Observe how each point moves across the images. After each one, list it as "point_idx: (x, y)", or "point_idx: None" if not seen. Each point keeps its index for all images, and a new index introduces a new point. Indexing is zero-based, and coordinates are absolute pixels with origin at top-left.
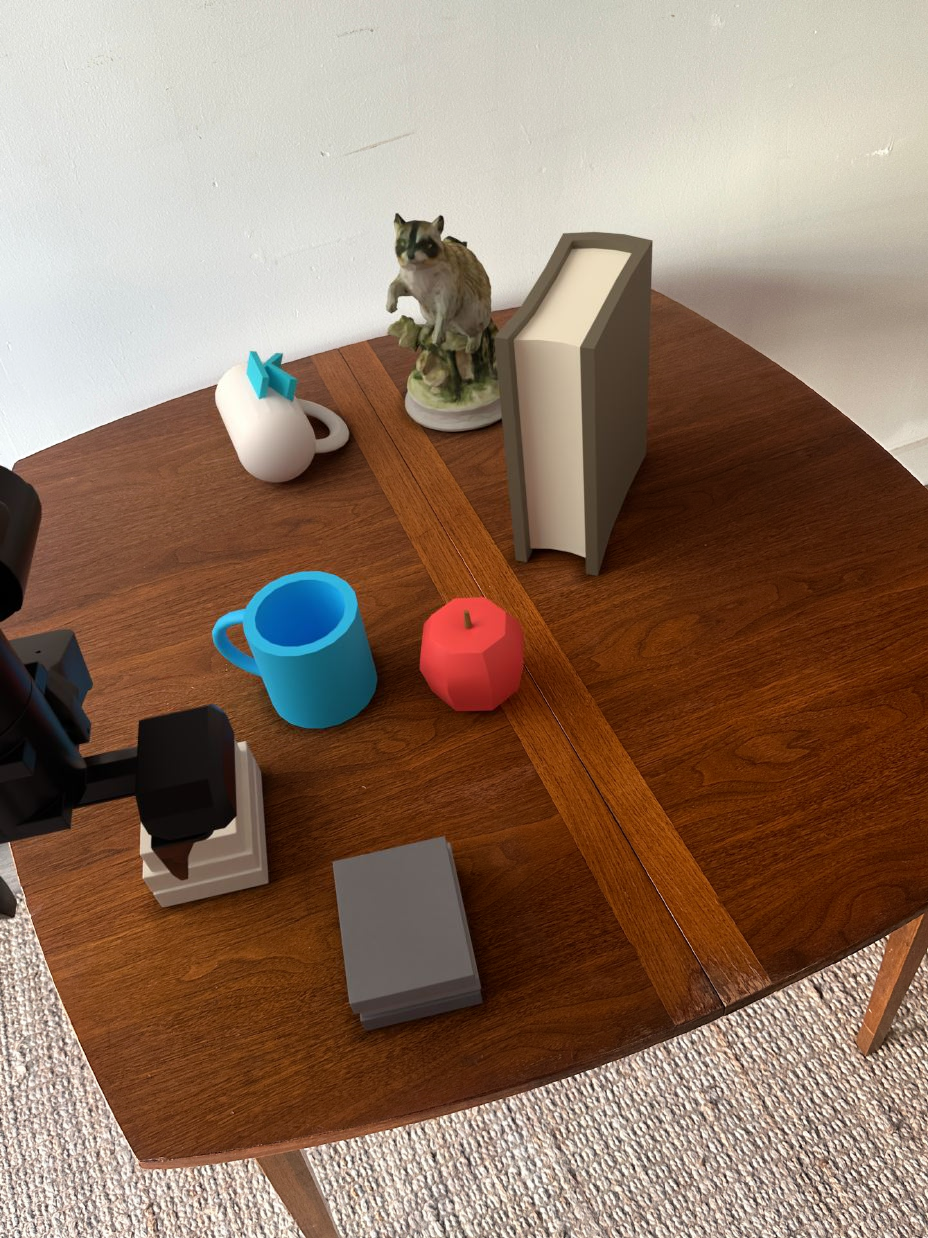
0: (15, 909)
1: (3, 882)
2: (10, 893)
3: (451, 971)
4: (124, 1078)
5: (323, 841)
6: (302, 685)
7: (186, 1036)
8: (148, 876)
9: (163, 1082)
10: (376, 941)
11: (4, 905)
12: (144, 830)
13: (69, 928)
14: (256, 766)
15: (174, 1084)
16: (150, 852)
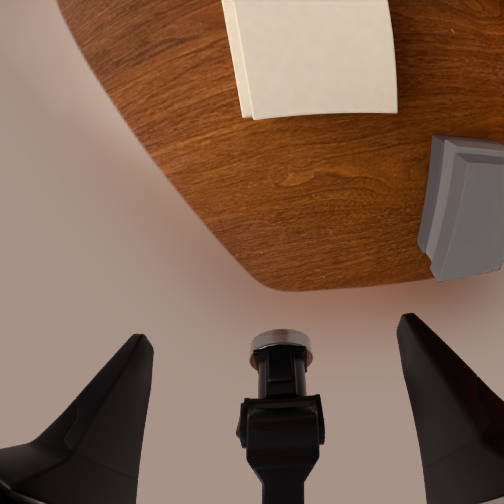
0: (148, 344)
1: (128, 372)
2: (137, 353)
3: (493, 267)
4: (242, 253)
5: (417, 72)
6: None
7: (288, 230)
8: (251, 116)
9: (273, 257)
10: (470, 243)
11: (146, 378)
12: (254, 79)
13: (152, 127)
14: None
15: (281, 259)
16: (269, 117)
